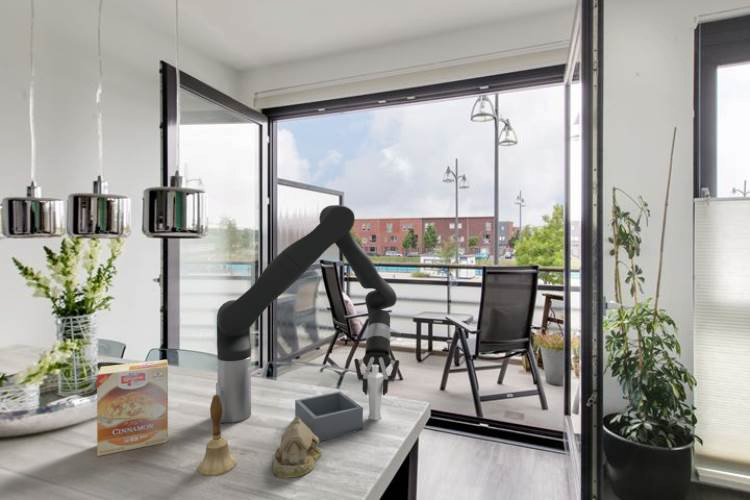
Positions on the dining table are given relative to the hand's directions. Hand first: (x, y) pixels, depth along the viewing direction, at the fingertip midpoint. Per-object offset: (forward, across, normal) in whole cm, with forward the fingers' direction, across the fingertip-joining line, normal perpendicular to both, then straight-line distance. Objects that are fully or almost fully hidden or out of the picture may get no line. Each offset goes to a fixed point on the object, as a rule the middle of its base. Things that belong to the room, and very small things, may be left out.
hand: (374, 393), depth 117 cm
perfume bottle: (+4, 0, +7) cm, 8 cm away
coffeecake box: (+19, -59, -8) cm, 62 cm away
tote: (+9, -12, +2) cm, 15 cm away
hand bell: (+25, -34, -13) cm, 44 cm away
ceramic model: (+22, -16, -10) cm, 29 cm away
